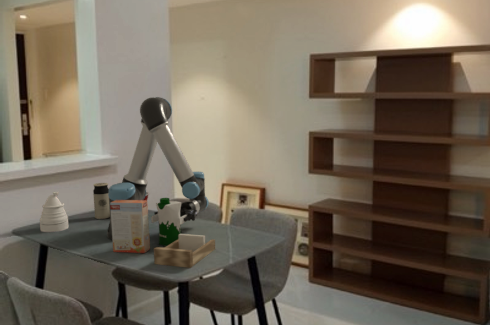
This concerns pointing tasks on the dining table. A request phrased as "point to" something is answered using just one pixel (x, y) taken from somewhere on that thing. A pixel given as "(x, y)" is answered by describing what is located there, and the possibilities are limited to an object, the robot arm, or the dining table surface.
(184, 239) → the block
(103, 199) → the travel mug
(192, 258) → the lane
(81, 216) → the dining table surface
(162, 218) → the soya milk
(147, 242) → the cracker box
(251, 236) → the dining table surface
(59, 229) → the honey pot
